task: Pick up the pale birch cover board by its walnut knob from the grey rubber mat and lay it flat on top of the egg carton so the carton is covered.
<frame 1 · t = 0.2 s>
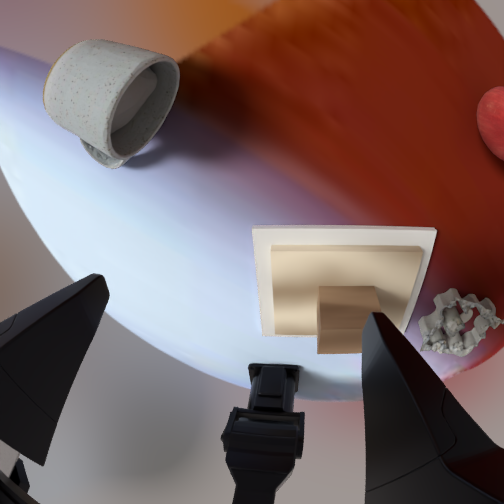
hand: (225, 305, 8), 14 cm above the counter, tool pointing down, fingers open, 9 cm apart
cover board: (343, 291, 24), point 1 cm above the counter, touching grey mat
onion: (482, 116, 14), on the counter
ceramic mug: (131, 104, 19), on the counter
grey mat: (343, 287, 25), on the counter
egg carton: (455, 313, 25), on the counter
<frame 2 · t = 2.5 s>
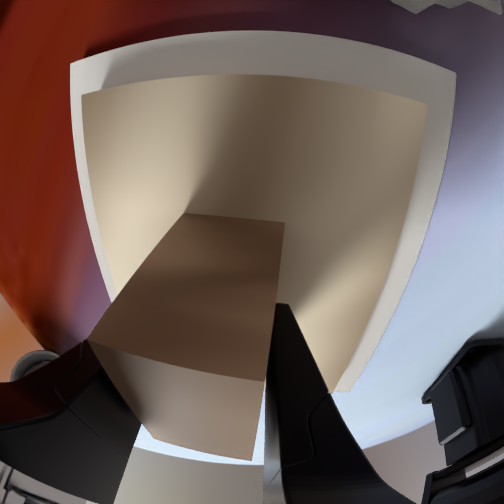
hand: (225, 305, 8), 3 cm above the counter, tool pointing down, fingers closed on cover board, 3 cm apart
cover board: (237, 268, 10), point 1 cm above the counter, touching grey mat, gripper
ceramic mug: (75, 375, 22), on the counter
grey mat: (240, 259, 11), on the counter
when the fingers open (7 cm above the counter, at t = 5.7 s): cover board drops 2 cm, resting on egg carton.
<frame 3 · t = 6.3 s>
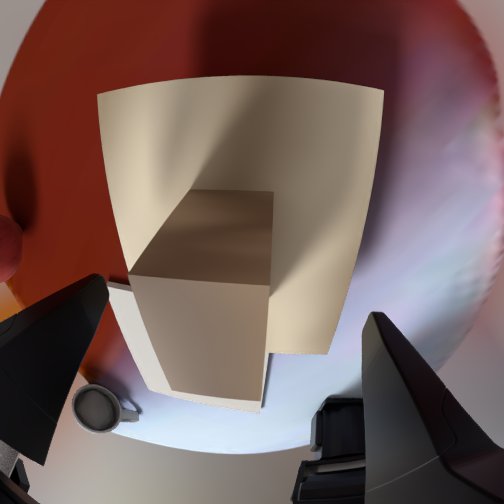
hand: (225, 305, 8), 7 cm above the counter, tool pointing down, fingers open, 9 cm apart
cover board: (235, 237, 12), point 3 cm above the counter, touching egg carton
onion: (21, 227, 19), on the counter
ceramic mug: (111, 396, 35), on the counter
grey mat: (194, 360, 23), on the counter
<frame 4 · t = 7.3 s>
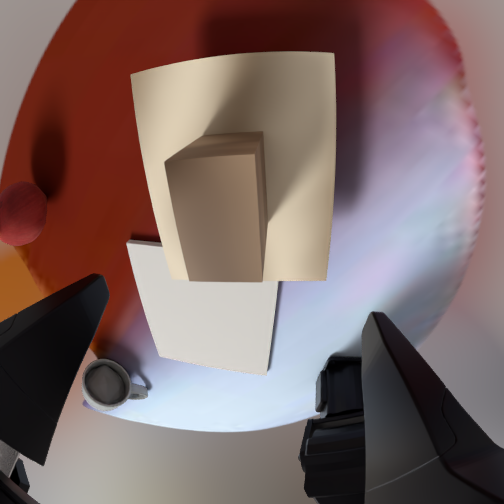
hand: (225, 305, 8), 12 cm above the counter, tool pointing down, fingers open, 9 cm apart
cover board: (239, 174, 15), point 3 cm above the counter, touching egg carton
onion: (45, 196, 22), on the counter
ceramic mug: (121, 373, 38), on the counter
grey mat: (205, 317, 26), on the counter
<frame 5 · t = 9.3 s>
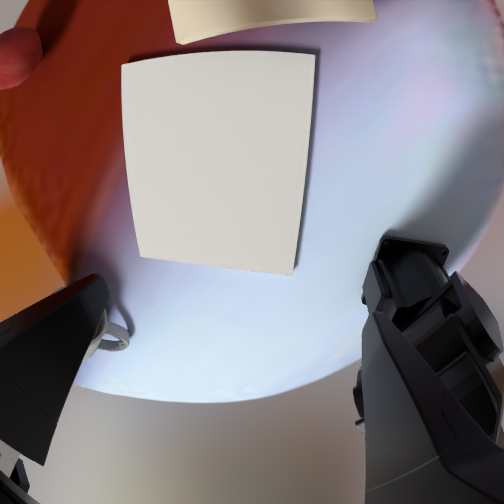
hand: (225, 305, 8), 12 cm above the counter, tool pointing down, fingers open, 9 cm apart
onion: (41, 54, 14), on the counter
ceramic mug: (97, 312, 30), on the counter
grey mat: (209, 165, 18), on the counter
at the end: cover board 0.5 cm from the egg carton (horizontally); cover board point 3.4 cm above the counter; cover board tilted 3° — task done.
